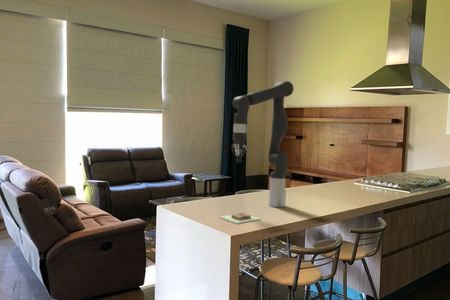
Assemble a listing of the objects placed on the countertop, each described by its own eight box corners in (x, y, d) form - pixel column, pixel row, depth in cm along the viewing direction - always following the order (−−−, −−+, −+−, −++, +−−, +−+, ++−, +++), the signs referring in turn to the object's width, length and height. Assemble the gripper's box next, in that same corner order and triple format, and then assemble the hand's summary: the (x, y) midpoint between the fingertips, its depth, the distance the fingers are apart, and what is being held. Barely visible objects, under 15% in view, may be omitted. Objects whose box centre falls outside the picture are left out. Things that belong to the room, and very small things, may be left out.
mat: (243, 214, 208) (243, 213, 208) (260, 219, 197) (260, 218, 197) (219, 217, 198) (219, 216, 198) (236, 224, 187) (236, 222, 187)
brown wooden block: (243, 212, 201) (250, 215, 197) (243, 215, 202) (250, 218, 197) (231, 214, 196) (239, 217, 192) (231, 217, 197) (238, 220, 192)
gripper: (252, 132, 214) (251, 163, 215) (237, 131, 224) (236, 161, 225) (242, 132, 209) (241, 163, 210) (227, 131, 219) (226, 161, 221)
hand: (238, 162), depth 218 cm, fingers closed
